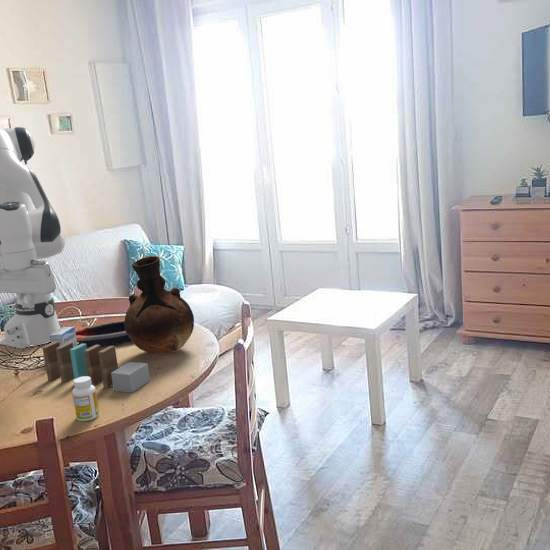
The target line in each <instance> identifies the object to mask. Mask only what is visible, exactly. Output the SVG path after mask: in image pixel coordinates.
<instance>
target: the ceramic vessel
mask: <svg viewBox="0 0 550 550" xmlns="http://www.w3.org/2000/svg"><path fill="white" fill-rule="evenodd" d="M160 259H161V258H160V257H159V256H158V255H150V256H144V257H141V258H139V259H138V260H136V261H134V262H132V264H131V267H132V269H133V270H134V272H135V273H136V274H137V277H138V278H139V279H138V280H137V282H136V287H137V289H138V290H140V291H141V293H140V295H136V294H134V293H133V294H129V296H128V301H129V307H128V309H127V310H126V312H125V316H124V320H123V321H124V327H125V330H126V333H127V335H128V336H129V338H130V339H131V340H132V341H131V342H132V343H133V345H135V347H137V348H138V349H139V350H141V351H142V352H146V353H147V354H151V355H165V354H170V353H173V352H177V351H178V352H179V351H180V349H182V348H183V346H184V345H185V344H186V343H187V342H188V341H189V339H190V338H191V335H192V333H193V331H194V328H195V317H194V313H193V310H192V308H191V307H190V304H189V303H188V302H187V301H186V300H185V299H184V298H182V297H181V293H180V290H179V288H177V287H173V288H172V289H170V290H168V289H165V285H166V280H165V278H164V277H163V276H162V275H161V260H160Z"/></svg>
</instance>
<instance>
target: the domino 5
mask: <svg viewBox="0 0 550 550" xmlns="http://www.w3.org/2000/svg"><path fill="white" fill-rule="evenodd" d="M98 353H99V360H100V366H101V373H102V379H103V381H102V385H103V388H110V387H111V386H113V383H112V376H111V373H112V372H113V371H115V370H117V369H119V365H118V358H117V357H118V356H117V352H116V346H114V345H108V347H105V348H103V349H101V351H99V352H98Z"/></svg>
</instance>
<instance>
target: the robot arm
mask: <svg viewBox="0 0 550 550" xmlns="http://www.w3.org/2000/svg"><path fill="white" fill-rule="evenodd" d="M35 147H36V142H35V139H34V137H33V135H32V134H31V132H29V130H28V129H27V128H26V127H22V126H17V127H16V126H15V127H14V128H12V127H11V128H10V127H9V128H0V294H3V293H4V294H15V295H16V300H17V303H16V304H13V305H12V309H15V314H14V315H13V316H12V317H11V318H10V319H9V320H8V321H7V322H6V323H5V324H4V328H3V333H4V336H3V337H1V338H0V345H2V346H7V347H12V348H15V347H16V348H15V349H20V348H21V349H20V350H23V349H22V348H24V349H27V348H26V347H28V346H30V345H32V344H33V347H35V346H34V345H40V344H43V343H46V342H50V336H49V335H51V334H53V333H54V332H56V331H58V330H59V329H61V328H62V327H61V326H60V322H59V319H58V315H57V312H56V310H55V308H56V305H55V300H54V297H53V296H52V294H53V293H54V292H55V291H56V289H57V284H56V281H55V277H54V274H53V270H52V269H51V266H50V264H49V263H48V262H46V260H42V259H47V258H48V259H49V258H51V257H54V256H56V255H59V254H62V252H63V251H64V249H65V245H66V239H65V236H64V233H63V232H62V230H61V229H62V224H61V221H60V217H59V216H58V215H57V212H56V211H55V209H54V208H53V206H52V204H51V202H50V201H49V199H48V197H47V195H46V193H45V191H44V188H43V186H42V185H41V182H40V180H39V179H38V177H37V175H36V174H35V172H34V170H33V169H32V168H30V167H28V166H26V165H28V161H29V160H31V159H32V157H33V156H34V154H35V149H36V148H35ZM23 161H24V164H25V165H24V164H23V163H22V162H23ZM12 340H14V341H12ZM40 346H41V345H40ZM28 348H29V347H28Z"/></svg>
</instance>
